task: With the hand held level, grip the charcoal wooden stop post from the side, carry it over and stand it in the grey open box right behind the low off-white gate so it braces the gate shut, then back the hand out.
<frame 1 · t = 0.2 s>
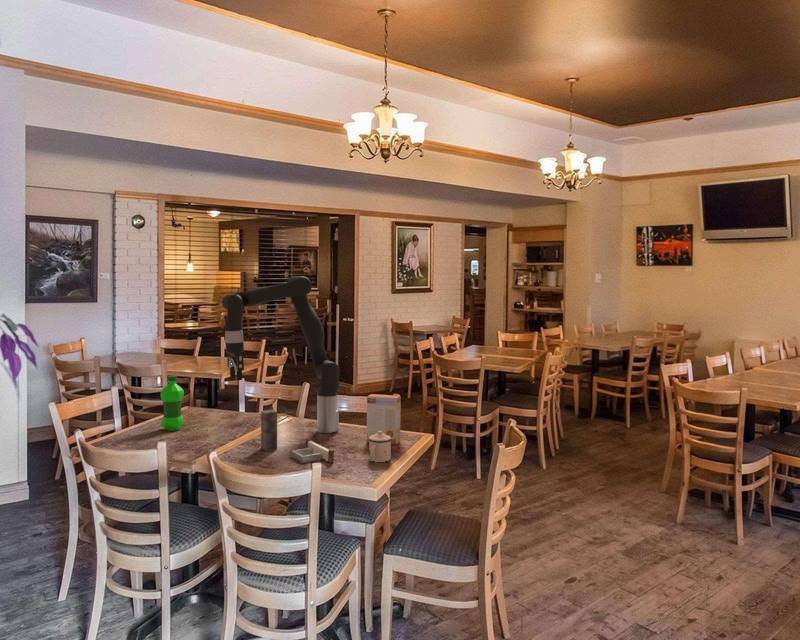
hand: (236, 379, 264), 28 cm above the table, tool pointing down, fingers open, 8 cm apart
teacup with lid: (378, 461, 246), on the table
grey open box: (319, 456, 251), on the table
cracker box: (383, 442, 274), on the table
gate panel: (320, 450, 251), point 2 cm above the table, hinge at 0.0°
stop post: (269, 449, 260), on the table
plastic bottle: (172, 429, 290), on the table
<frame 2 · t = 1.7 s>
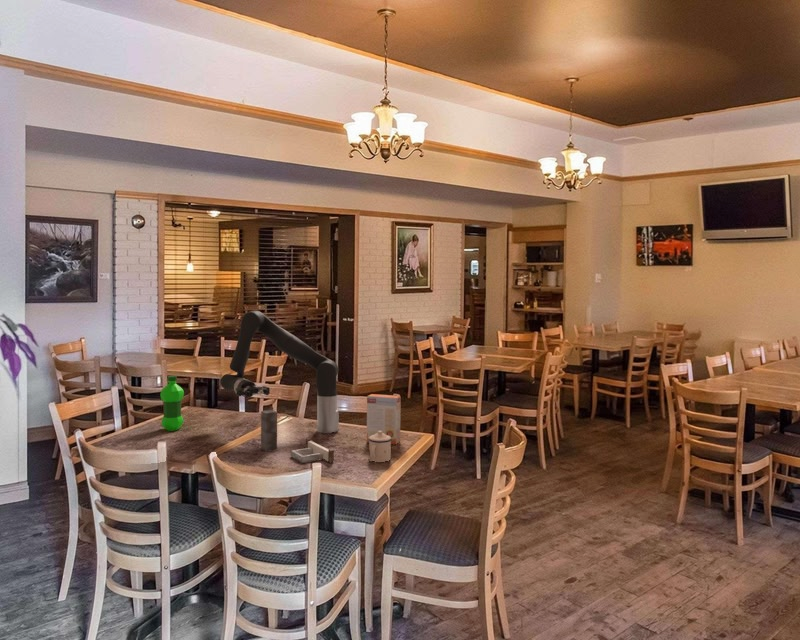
hand: (258, 393, 268), 22 cm above the table, tool horizontal, fingers open, 8 cm apart
nothing on the table moved.
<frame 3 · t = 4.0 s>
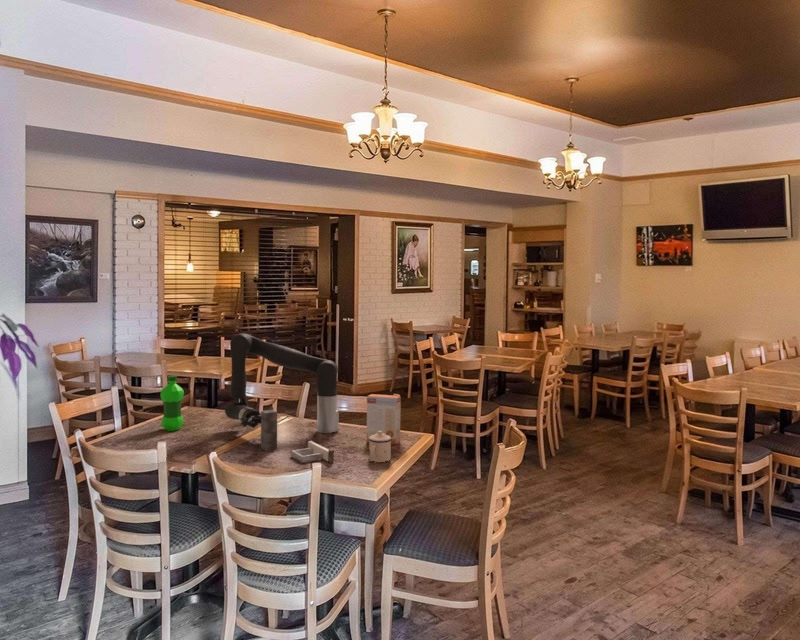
hand: (263, 424, 264), 10 cm above the table, tool horizontal, fingers open, 8 cm apart
nothing on the table moved.
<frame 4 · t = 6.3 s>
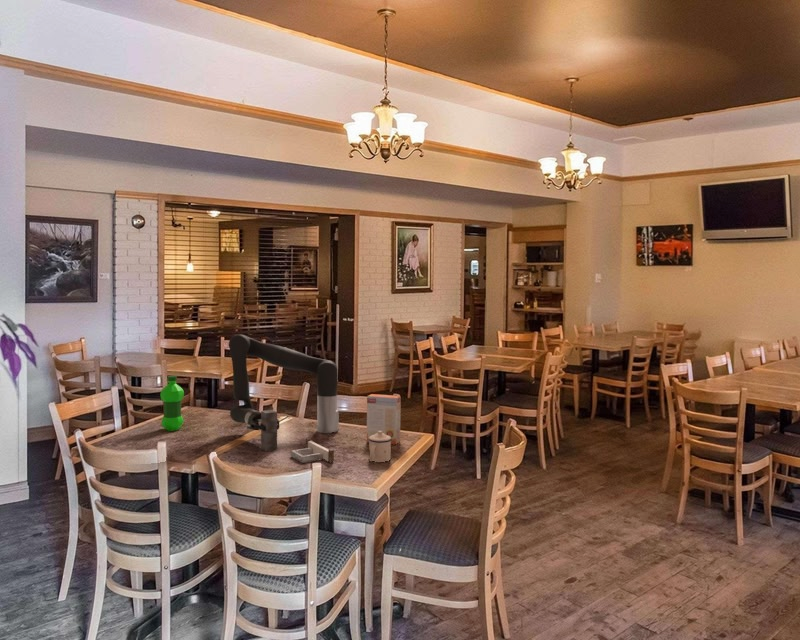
hand: (271, 428, 258), 10 cm above the table, tool horizontal, fingers closed on stop post, 5 cm apart
stop post: (269, 449, 260), on the table, touching gripper
everything else where it was.
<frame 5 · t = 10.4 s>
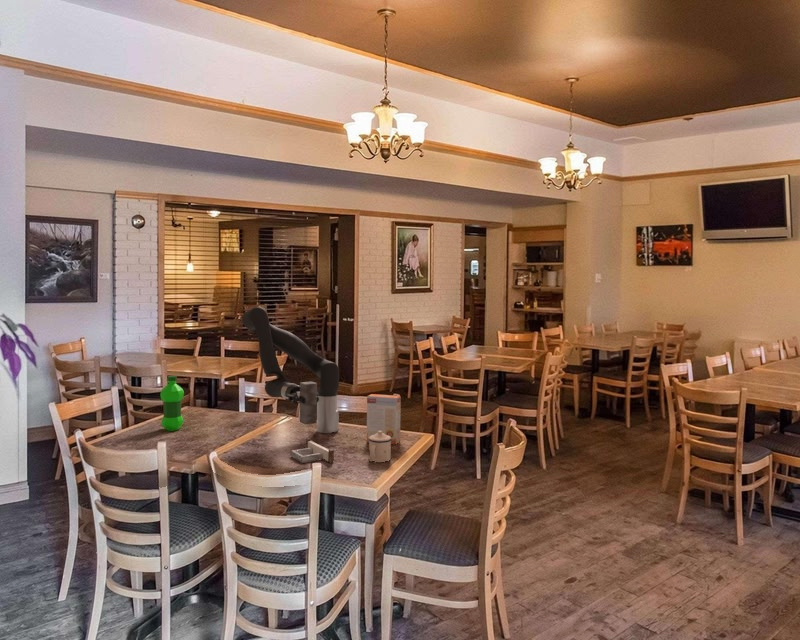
hand: (311, 400, 245), 24 cm above the table, tool horizontal, fingers closed on stop post, 5 cm apart
stop post: (308, 422, 248), point 14 cm above the table, touching gripper
everything else where it was.
when the fingers open (11 cm above the table, at t = 14.4 s): stop post drops 1 cm, resting on grey open box.
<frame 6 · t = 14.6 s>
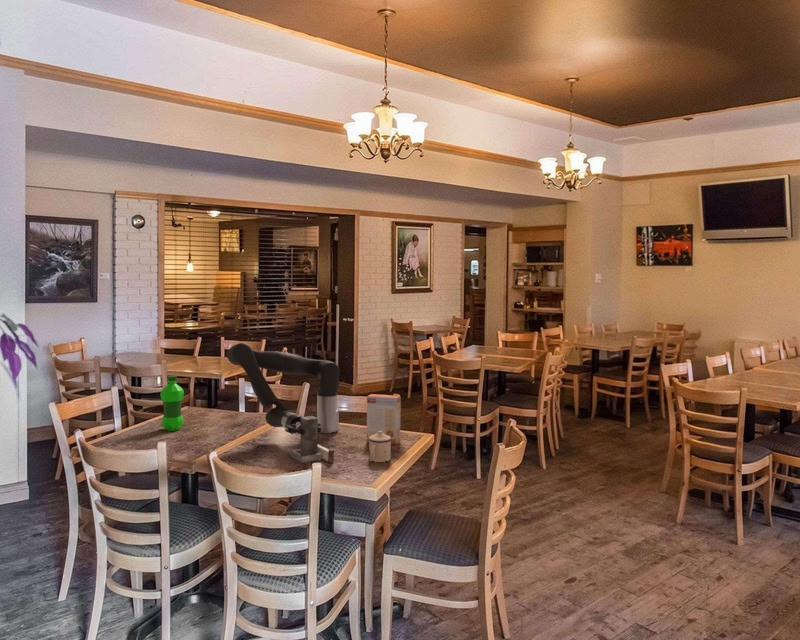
hand: (311, 431, 246), 11 cm above the table, tool horizontal, fingers open, 7 cm apart
stop post: (308, 457, 249), resting on grey open box
everything else where it was.
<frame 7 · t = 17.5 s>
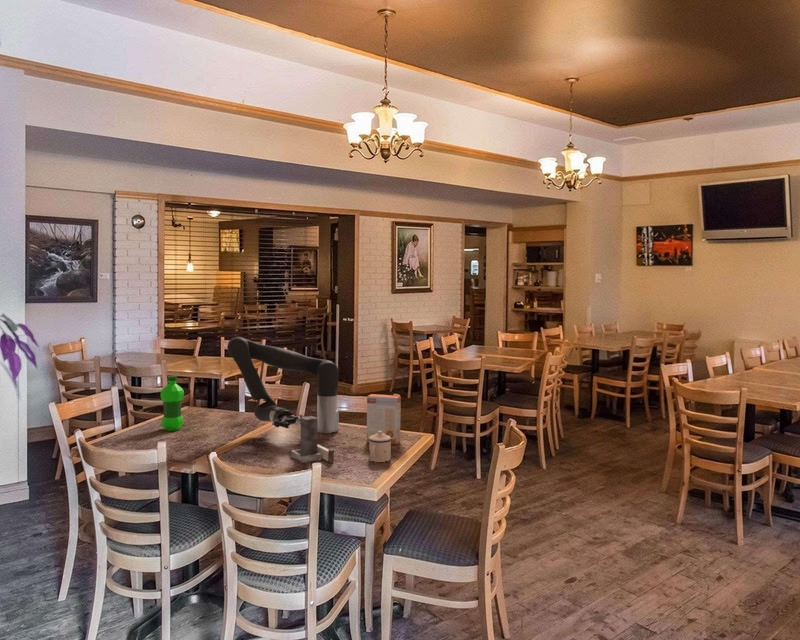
hand: (297, 424, 257), 11 cm above the table, tool horizontal, fingers open, 8 cm apart
nothing on the table moved.
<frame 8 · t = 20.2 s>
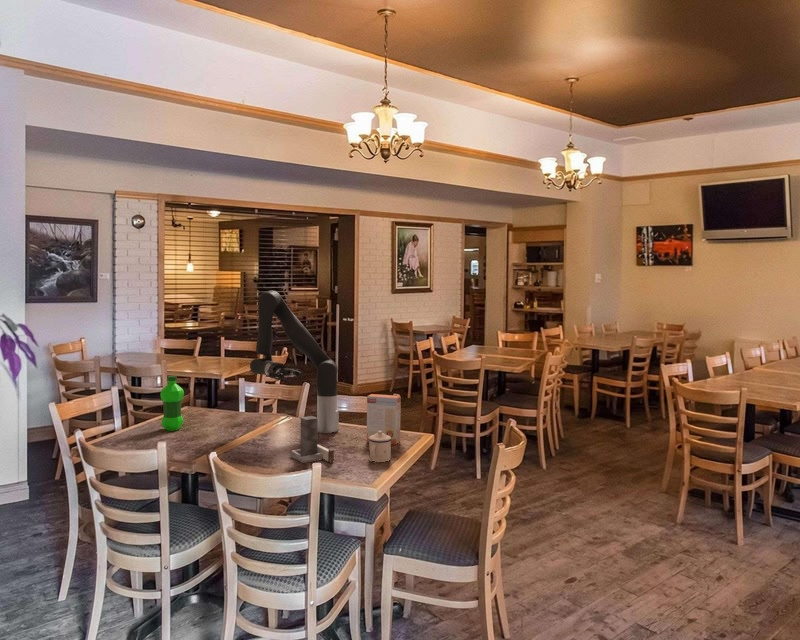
hand: (291, 375, 266), 30 cm above the table, tool horizontal, fingers open, 8 cm apart
nothing on the table moved.
at the end: stop post 0.3 cm from the target spot on the grey open box, point 0.3 cm above the grey open box's base; stop post tilted 0°; gate panel at +0° (first picture: +0°) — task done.
